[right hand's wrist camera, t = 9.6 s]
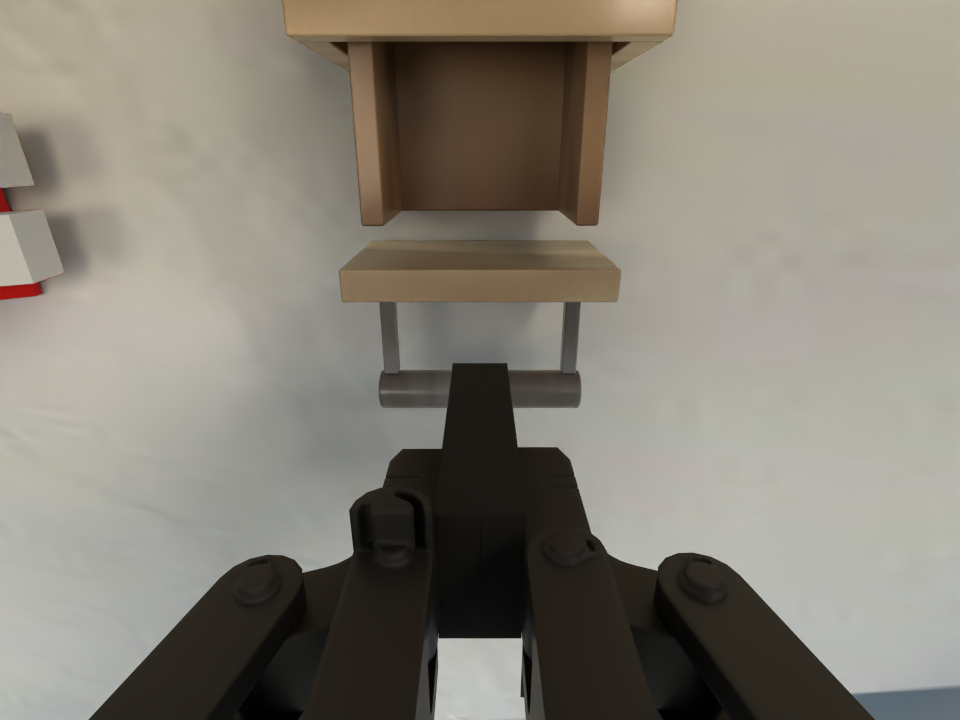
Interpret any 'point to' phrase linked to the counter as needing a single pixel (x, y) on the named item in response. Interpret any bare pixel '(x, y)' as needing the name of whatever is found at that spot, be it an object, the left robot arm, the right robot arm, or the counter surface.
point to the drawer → (479, 189)
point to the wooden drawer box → (480, 23)
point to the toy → (21, 226)
